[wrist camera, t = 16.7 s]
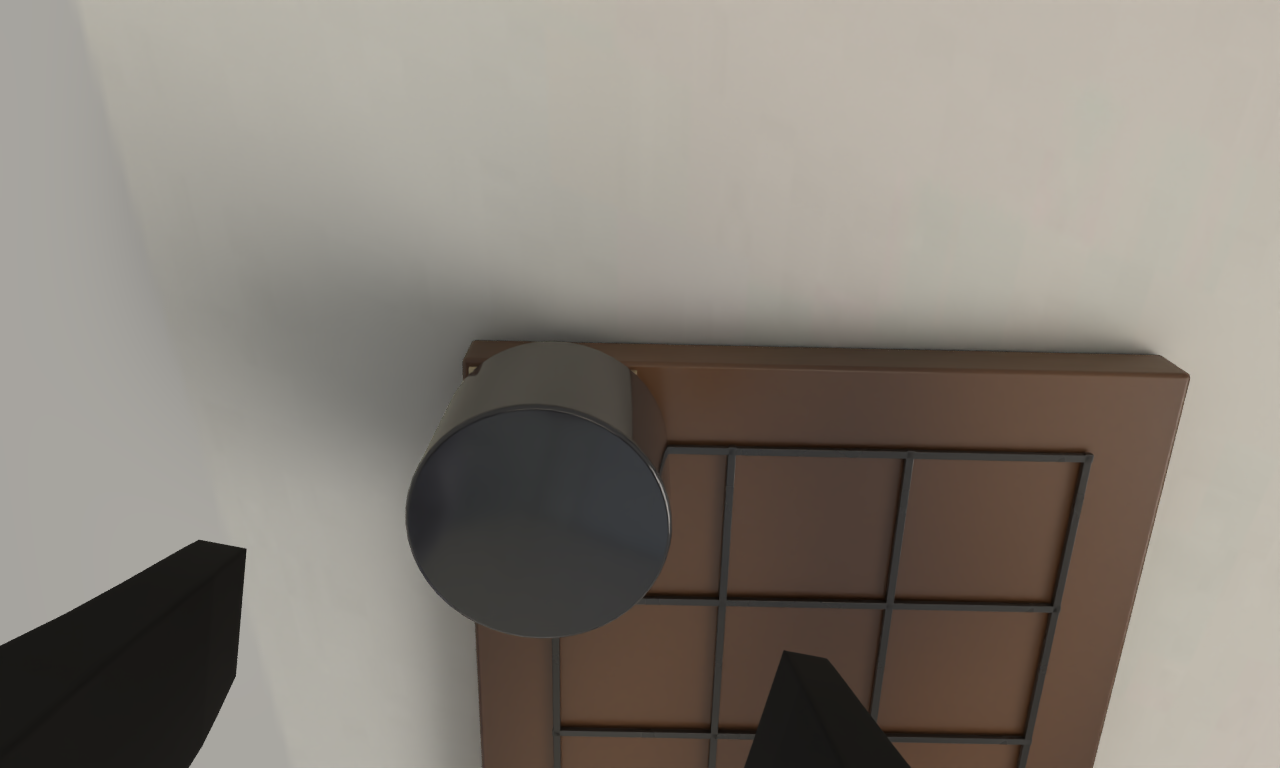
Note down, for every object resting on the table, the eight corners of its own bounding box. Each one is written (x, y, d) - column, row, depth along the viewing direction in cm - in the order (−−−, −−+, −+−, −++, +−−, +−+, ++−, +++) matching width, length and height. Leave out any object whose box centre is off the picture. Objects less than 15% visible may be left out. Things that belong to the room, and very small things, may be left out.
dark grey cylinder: (498, 571, 20) (472, 671, 17) (404, 385, 18) (356, 459, 15) (699, 503, 19) (709, 595, 16) (618, 306, 18) (613, 366, 15)
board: (494, 857, 24) (486, 904, 23) (471, 338, 19) (459, 362, 18) (1040, 867, 24) (1062, 915, 23) (1161, 353, 19) (1198, 377, 18)
